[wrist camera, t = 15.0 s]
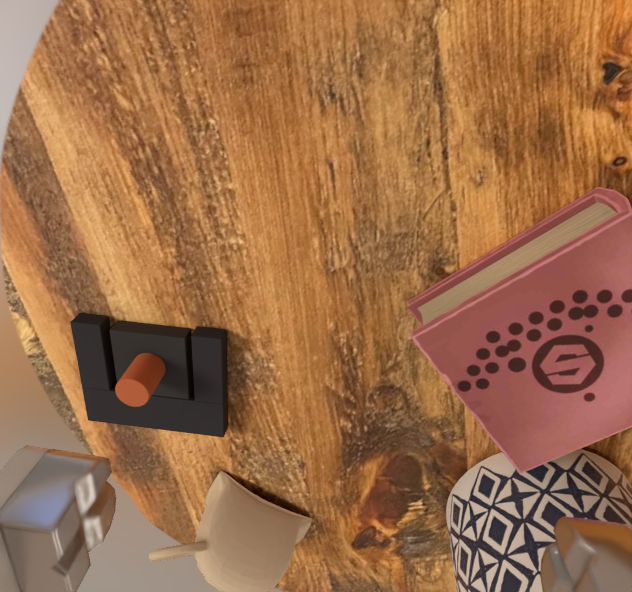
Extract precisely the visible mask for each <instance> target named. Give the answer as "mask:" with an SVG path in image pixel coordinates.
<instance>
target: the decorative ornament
mask: <svg viewBox="0 0 632 592" xmlns="http://www.w3.org/2000/svg"><path fill="white" fill-rule="evenodd" d="M205 505H206V507H205V510H204V513H203V516H202V518H201V521H200V522H199V528H198V532H197V536H196V542H195V543H189V544H183V545H178V546H173V547H167V548H162V549H158V550H155V551H153V552H151V553H150V555H149V558H150V560H152V561H161V560H168V559H175V558H180V557H186V556H191V555H195V556H196V561H197V563H198V569H199V570H200V571H201V572H202V574H203V575H204V577H205V578H206V582H209V583H210V584H211V585H213V586H214V587H215V588H217V590H218V591H222V592H269V591H270V590H272V589H273V588H274V587H275V586H276V584H277V583H278V582H279V581H280V579H281V578H282V577H283V575H284V574H285V572H286V570H287V568H288V566H289V564H290V561H291V559H292V555H293V552H294V548H295V545H296V544H298V543H299V542H300V541H301V540H302V539H303V537H304V536H305V535H306V533H307V531H308V529H309V527H310V525H311V522H312V519H311V518H309V517H306V516H303V515H300V514H297V513H294V512H291V511H288V510H286V509H284V508H281V507H279V506H277V505H274V504H272V503H270V502H268V501H266V500H264V499H262V498H260V497H259V496H257V495H255V494H253V493H252V492H250V491H249V490H247V489H246V488H245V487H243V486H242V485H240V484H239V483H238V482H236V481H235V480H234V479H233V478H231V477H230V476H229V475H228V474H226V473H224V472H222V471H220V472H219V474H218V475H217V477H216V478H215V480H214V482H213V483H212V485H211V487H210V489H209V490H208V492H207V496H206V500H205Z"/></svg>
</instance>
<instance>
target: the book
mask: <svg viewBox="0 0 632 592" xmlns="http://www.w3.org/2000/svg"><path fill="white" fill-rule="evenodd" d="M407 307H408V308H409V309H410V310H411V312H412V313H413V314H414V316H415V317H416V318H417V319H418V321H419V322H420V323H421V325H422V326H420V327H419V328H417V329H415V330H413V331H412V332H410V333H411V339H412V340H413V341H414V342H415V344H416V345H417V346H418V347H419V349H420V350H421V351H422V352H423V354H424V355H425V356H426V357H427V359H428V360H429V361H430V362H431V364H432V365H433V366H434V367H435V369H436V370H437V371H438V372H439V374H440V375H441V376H442V377H443V379H444V380H445V381H446V382H447V384H448V385H449V386H450V387H451V389H452V390H453V391H454V392H455V394H456V395H457V396H458V397H459V399H460V400H461V401H462V402H463V404H464V405H465V406H466V407H467V409H468V410H469V411H470V412H471V414H472V415H473V416H474V417H475V419H476V420H477V421H478V422H479V424H480V425H481V426H482V427H483V429H484V430H485V431H486V432H487V434H488V435H489V436H490V437H491V439H492V440H493V441H494V442H495V444H496V445H497V446H498V447H499V449H500V450H501V451H502V452H503V454H504V455H505V456H506V457H507V459H508V460H509V461H510V462H511V464H512V465H513V466H514V467H515V469H516V470H517V471H518V472H519V474H521V473H523V472H526V471H528V470H531V469H533V468H535V467H538V466H540V465H542V464H545V463H547V462H550V461H552V460H554V459H557V458H559V457H562V456H564V455H566V454H569V453H571V452H573V451H576V450H578V449H581V448H583V447H585V446H588V445H590V444H593V443H595V442H597V441H600V440H602V439H604V438H607V437H609V436H612V435H614V434H616V433H619V432H621V431H624V430H626V429H628V428H631V427H632V206H631V204H630V202H629V200H628V198H626V197H625V196H623V195H622V194H620V193H619V192H617V191H616V190H611V189H606V188H601V187H597V188H595V189H593V190H592V191H590V192H588V193H587V194H585V195H583V196H582V197H580V198H578V199H577V200H575V201H573V202H572V203H570V204H568V205H567V206H565V207H563V208H562V209H560V210H558V211H557V212H555V213H553V214H552V215H550V216H548V217H547V218H545V219H543V220H542V221H540V222H538V223H537V224H535V225H533V226H532V227H530V228H528V229H527V230H525V231H523V232H522V233H520V234H518V235H517V236H515V237H513V238H512V239H510V240H508V241H507V242H505V243H503V244H502V245H500V246H498V247H497V248H495V249H493V250H492V251H490V252H488V253H487V254H485V255H483V256H482V257H480V258H478V259H477V260H475V261H473V262H472V263H470V264H468V265H467V266H465V267H463V268H462V269H460V270H458V271H457V272H455V273H453V274H452V275H450V276H448V277H447V278H445V279H443V280H442V281H440V282H438V283H437V284H435V285H433V286H432V287H430V288H429V289H427V290H425V291H424V292H422V293H420V294H419V295H417V296H415V297H414V298H412V299H410V300H409V301H407Z"/></svg>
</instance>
